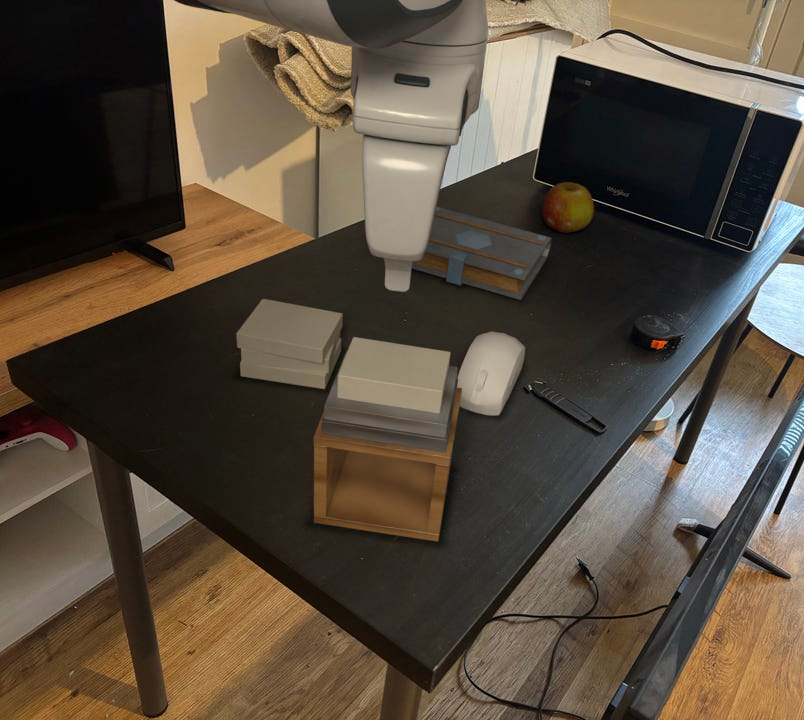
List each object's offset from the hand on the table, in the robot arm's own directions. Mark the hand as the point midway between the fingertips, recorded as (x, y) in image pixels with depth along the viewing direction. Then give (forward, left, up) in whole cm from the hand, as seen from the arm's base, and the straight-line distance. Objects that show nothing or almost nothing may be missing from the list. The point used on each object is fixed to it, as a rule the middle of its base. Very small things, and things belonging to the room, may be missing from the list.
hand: (403, 256), depth 58 cm
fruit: (+71, -19, -28) cm, 78 cm away
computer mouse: (+22, -9, -28) cm, 36 cm away
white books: (+20, +15, -28) cm, 37 cm away
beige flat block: (+1, 0, -14) cm, 14 cm away
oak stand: (+1, 0, -28) cm, 28 cm away
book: (+53, -4, -28) cm, 60 cm away
